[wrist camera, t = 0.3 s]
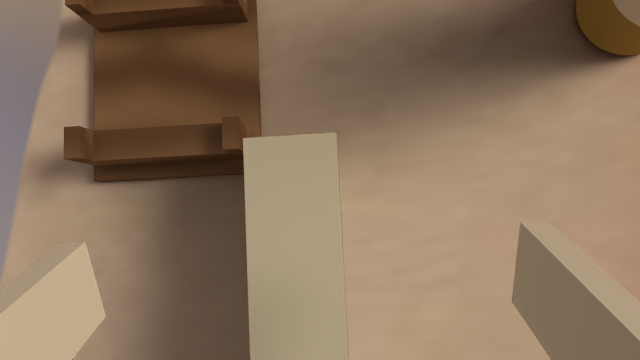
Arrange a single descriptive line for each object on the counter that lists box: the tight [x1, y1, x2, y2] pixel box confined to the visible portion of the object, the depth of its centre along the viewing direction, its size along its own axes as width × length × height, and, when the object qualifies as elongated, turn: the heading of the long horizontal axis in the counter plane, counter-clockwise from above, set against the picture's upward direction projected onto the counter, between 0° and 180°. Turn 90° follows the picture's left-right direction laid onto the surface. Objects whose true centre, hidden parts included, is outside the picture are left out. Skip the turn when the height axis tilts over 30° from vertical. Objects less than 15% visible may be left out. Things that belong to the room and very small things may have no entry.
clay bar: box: [243, 133, 349, 360], centre depth 25 cm, size 16×5×8 cm, turn 3°
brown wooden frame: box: [64, 0, 261, 182], centre depth 29 cm, size 14×12×5 cm
